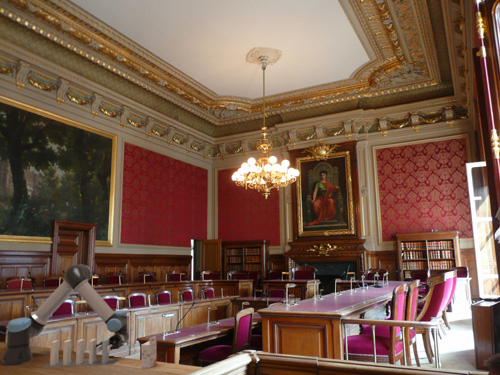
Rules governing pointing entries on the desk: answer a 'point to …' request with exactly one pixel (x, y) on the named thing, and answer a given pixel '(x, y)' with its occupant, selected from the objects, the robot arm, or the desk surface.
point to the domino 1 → (54, 352)
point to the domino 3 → (80, 352)
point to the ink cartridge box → (149, 353)
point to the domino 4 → (92, 351)
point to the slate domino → (105, 351)
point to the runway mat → (73, 363)
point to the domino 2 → (67, 352)
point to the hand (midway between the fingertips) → (102, 350)
